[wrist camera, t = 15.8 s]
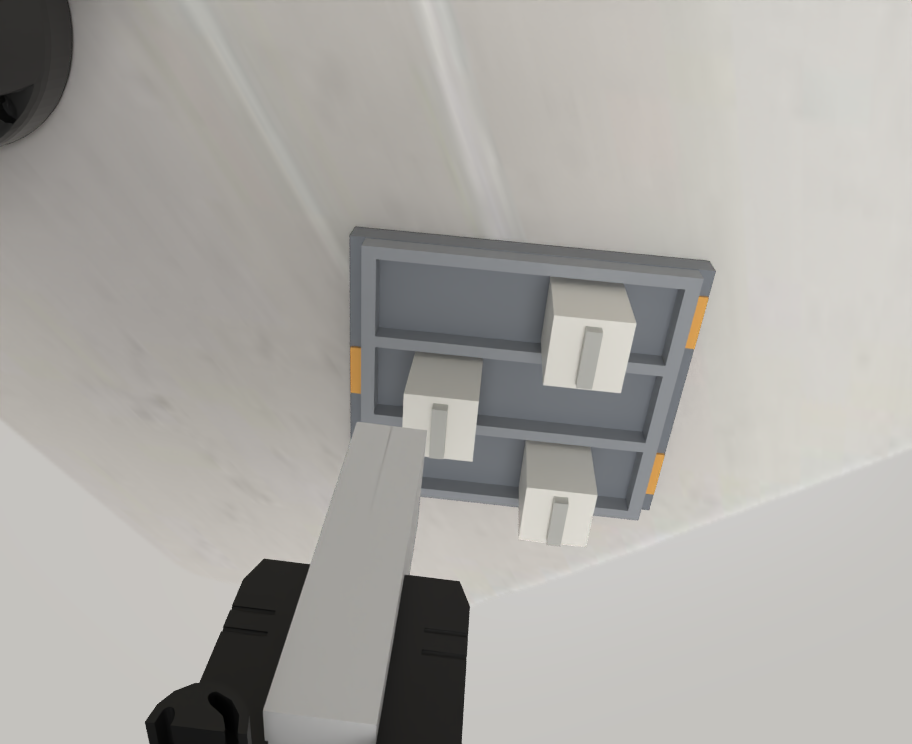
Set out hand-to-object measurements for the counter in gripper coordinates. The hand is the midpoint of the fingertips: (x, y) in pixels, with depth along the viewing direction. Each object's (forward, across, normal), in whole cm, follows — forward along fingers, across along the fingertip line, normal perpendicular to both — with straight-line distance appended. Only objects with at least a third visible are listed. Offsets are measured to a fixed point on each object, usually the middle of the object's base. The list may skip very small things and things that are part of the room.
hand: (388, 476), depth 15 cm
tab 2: (+24, +8, -7) cm, 26 cm away
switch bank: (+26, +5, -12) cm, 29 cm away
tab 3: (+24, +8, -18) cm, 31 cm away
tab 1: (+24, +1, -12) cm, 27 cm away
